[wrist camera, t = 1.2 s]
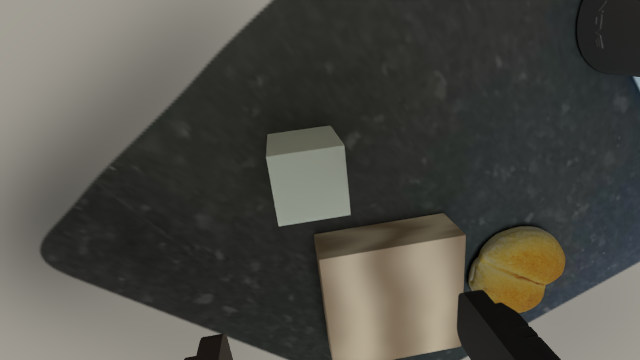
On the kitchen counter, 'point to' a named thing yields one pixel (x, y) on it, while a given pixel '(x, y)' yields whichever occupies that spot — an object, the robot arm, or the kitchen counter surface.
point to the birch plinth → (392, 287)
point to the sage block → (307, 175)
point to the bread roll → (517, 267)
